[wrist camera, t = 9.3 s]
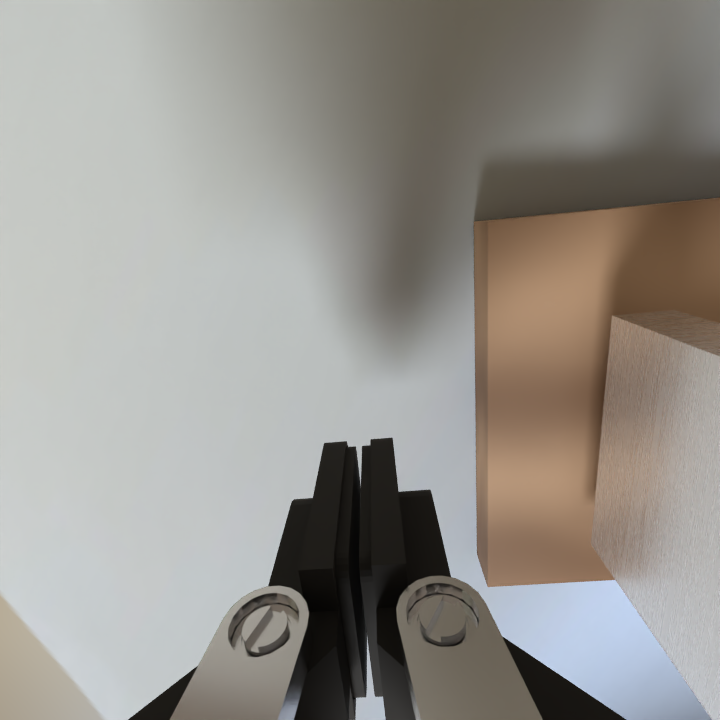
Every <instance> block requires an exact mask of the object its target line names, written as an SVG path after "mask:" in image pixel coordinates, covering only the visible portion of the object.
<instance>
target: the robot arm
mask: <svg viewBox="0 0 720 720" xmlns="http://www.w3.org/2000/svg"><path fill="white" fill-rule="evenodd" d="M367 637H368V645H369V653H370V661H371V669H372V677H373V685H374V693H375V697H379V696H383V699H384V708H385V716H386V720H626V719H624V718H623V717H621V716H620V715H618V714H617V713H616V712H614V711H613V710H611V709H610V708H608V707H607V706H605V705H604V704H602V703H601V702H599V701H598V700H596V699H595V698H593V697H592V696H590V695H589V694H587V693H586V692H584V691H583V690H581V689H580V688H578V687H577V686H575V685H574V684H572V683H571V682H569V681H568V680H566V679H565V678H563V677H562V676H560V675H559V674H557V673H556V672H554V671H553V670H551V669H550V668H548V667H547V666H545V665H544V664H543V663H541V662H540V661H538V660H537V659H535V658H534V657H532V656H531V655H529V654H528V653H526V652H525V651H523V650H522V649H520V648H519V647H517V646H516V645H514V644H513V643H511V642H510V641H508V640H507V639H505V638H504V637H502V635H501V633H500V631H499V629H498V627H497V625H496V623H495V621H494V619H493V617H492V615H491V613H490V611H489V609H488V607H487V605H486V603H485V601H484V600H483V599H482V597H481V596H480V594H479V593H478V592H477V591H476V590H475V589H473V588H472V587H471V586H470V585H468V584H467V583H465V582H463V581H460V580H458V579H456V578H452V577H451V575H450V571H449V567H448V562H447V558H446V554H445V549H444V545H443V541H442V536H441V532H440V528H439V523H438V519H437V515H436V510H435V506H434V502H433V497H432V494H431V491H430V490H419V491H405V492H398V484H397V475H396V465H395V456H394V447H393V438H383V439H371V445H369V446H362V471H361V486H360V477H359V469H358V460H357V452H356V447H348V445H347V441H345V442H333V443H324V446H323V451H322V456H321V461H320V466H319V471H318V476H317V481H316V486H315V491H314V495H313V498H308V499H294V500H293V501H292V503H291V506H290V510H289V513H288V517H287V520H286V524H285V528H284V531H283V535H282V539H281V542H280V546H279V549H278V553H277V557H276V560H275V564H274V567H273V571H272V575H271V578H270V582H269V585H268V586H267V587H264V588H261V589H257V590H254V591H253V592H251V593H249V594H247V595H246V596H244V597H242V598H241V599H240V600H239V601H238V602H236V603H235V604H234V605H233V606H232V607H231V608H230V610H229V611H228V612H227V614H226V615H225V617H224V618H223V620H222V622H221V624H220V625H219V627H218V629H217V631H216V633H215V635H214V637H213V639H212V641H211V642H210V644H209V646H208V648H207V650H206V652H205V654H204V656H203V658H202V660H201V661H200V663H199V665H198V666H197V667H196V668H194V669H193V670H192V671H190V672H189V673H188V674H187V675H185V676H184V677H183V678H181V679H180V680H179V681H178V682H176V683H175V684H174V685H172V686H171V687H170V688H169V689H167V690H166V691H165V692H163V693H162V694H161V695H159V696H158V697H157V698H156V699H154V700H153V701H152V702H150V703H149V704H148V705H147V706H145V707H144V708H143V709H141V710H140V711H139V712H138V713H136V714H135V715H134V716H132V717H131V718H130V719H128V720H355V710H356V698H358V697H366V689H367Z"/></svg>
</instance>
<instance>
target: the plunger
mask: <svg viewBox="0 0 720 720" xmlns="http://www.w3.org/2000/svg"><path fill="white" fill-rule="evenodd" d="M591 545H592V547H593V548H594V550H595V551H596V552H597V554H598V555H599V557H600V558H601V560H602V561H603V563H604V564H605V566H606V567H607V568H608V570H609V571H610V573H611V574H612V576H613V577H614V579H615V580H616V581H617V583H618V584H619V586H620V587H621V589H622V590H623V592H624V593H625V594H626V596H627V597H628V599H629V600H630V602H631V603H632V605H633V606H634V608H635V609H636V610H637V612H638V613H639V615H640V616H641V618H642V619H643V621H644V622H645V623H646V625H647V626H648V628H649V629H650V631H651V632H652V634H653V635H654V636H655V638H656V639H657V641H658V642H659V644H660V645H661V647H662V648H663V650H664V651H665V652H666V654H667V655H668V657H669V658H670V660H671V661H672V663H673V664H674V665H675V667H676V668H677V670H678V671H679V673H680V674H681V676H682V677H683V679H684V680H685V681H686V683H687V684H688V686H689V687H690V689H691V690H692V692H693V693H694V694H695V696H696V697H697V699H698V700H699V702H700V703H701V705H702V706H703V707H704V709H705V710H706V712H707V713H708V715H709V716H710V718H711V719H712V720H720V323H717V322H714V321H710V320H707V319H703V318H700V317H696V316H693V315H689V314H686V313H682V312H679V311H675V310H670V311H659V312H647V313H635V314H624V315H612V320H611V331H610V341H609V352H608V363H607V374H606V384H605V395H604V406H603V417H602V428H601V438H600V449H599V460H598V471H597V481H596V492H595V503H594V514H593V525H592V535H591Z"/></svg>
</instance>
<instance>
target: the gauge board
mask: <svg viewBox="0 0 720 720" xmlns="http://www.w3.org/2000/svg"><path fill="white" fill-rule="evenodd" d="M474 290H475V391H476V493H477V555H478V558H479V562H480V565H481V568H482V571H483V574H484V577H485V580H486V583H487V586H488V587H495V586H513V585H530V584H548V583H566V582H584V581H602V580H615V579H614V577H613V576H612V574H611V573H610V571H609V570H608V568H607V567H606V566H605V564H604V563H603V561H602V560H601V558H600V557H599V555H598V554H597V552H596V551H595V550H594V548H593V547H592V545H591V535H592V525H593V514H594V503H595V492H596V481H597V471H598V460H599V449H600V438H601V428H602V417H603V406H604V395H605V384H606V374H607V363H608V352H609V341H610V331H611V320H612V315H624V314H635V313H647V312H659V311H670V310H675V311H679V312H682V313H686V314H689V315H693V316H696V317H700V318H703V319H707V320H710V321H714V322H717V323H720V197H719V198H709V199H699V200H688V201H678V202H668V203H658V204H648V205H637V206H627V207H617V208H607V209H597V210H586V211H576V212H566V213H556V214H546V215H535V216H525V217H515V218H505V219H495V220H484V221H474Z"/></svg>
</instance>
